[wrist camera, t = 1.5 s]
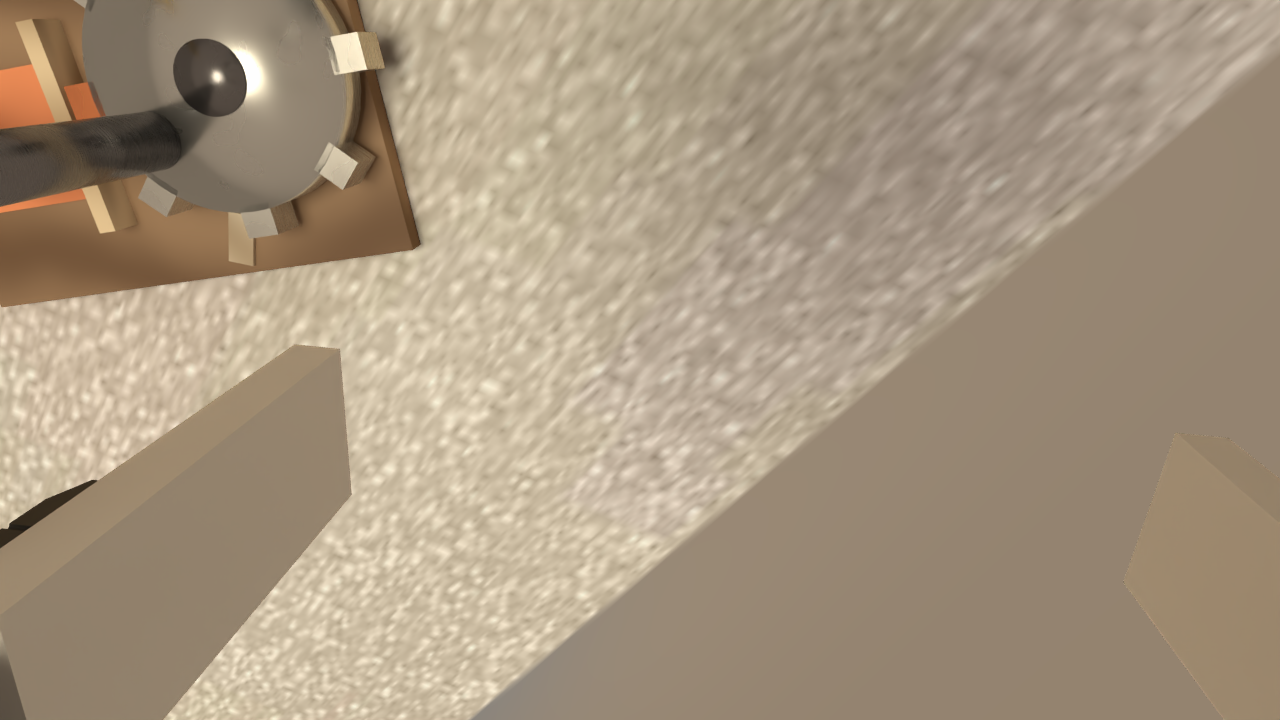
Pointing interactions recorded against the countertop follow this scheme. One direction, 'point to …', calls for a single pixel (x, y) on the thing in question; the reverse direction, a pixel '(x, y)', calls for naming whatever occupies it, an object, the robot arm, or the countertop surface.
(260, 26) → the sprocket
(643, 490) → the countertop surface
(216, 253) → the brown wooden board
